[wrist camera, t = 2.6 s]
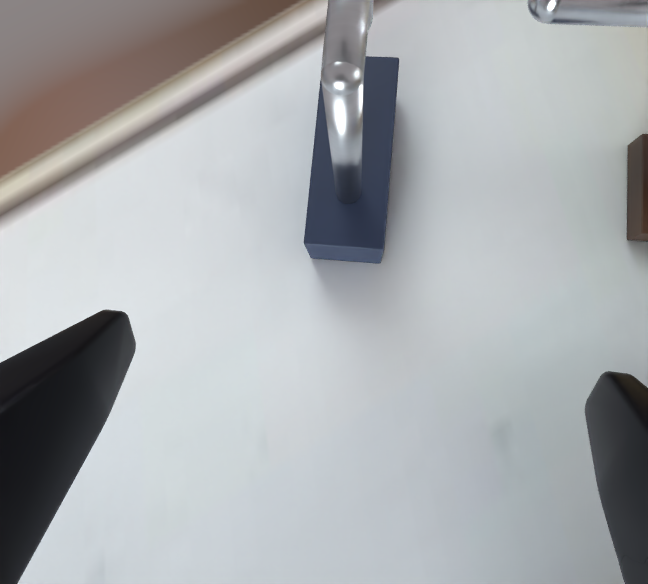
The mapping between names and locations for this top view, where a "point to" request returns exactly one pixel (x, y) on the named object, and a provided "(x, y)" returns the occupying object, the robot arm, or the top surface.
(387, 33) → the top surface
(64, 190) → the top surface
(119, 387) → the robot arm
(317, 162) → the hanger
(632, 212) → the brown hanging stand
